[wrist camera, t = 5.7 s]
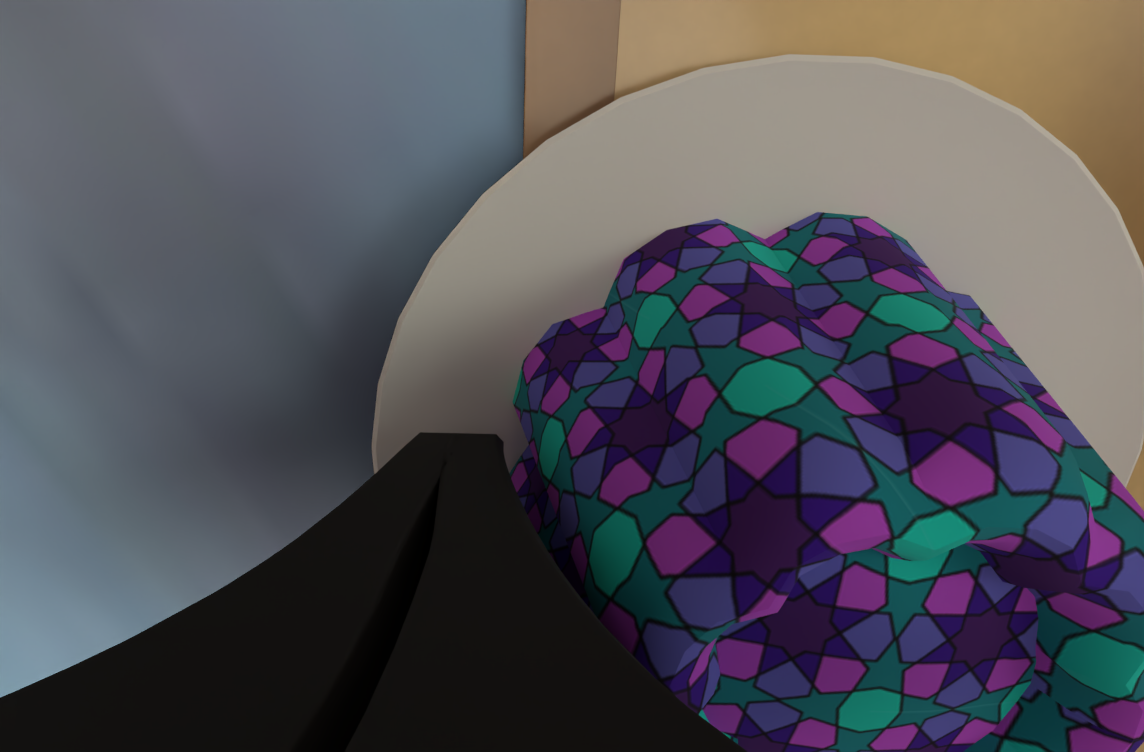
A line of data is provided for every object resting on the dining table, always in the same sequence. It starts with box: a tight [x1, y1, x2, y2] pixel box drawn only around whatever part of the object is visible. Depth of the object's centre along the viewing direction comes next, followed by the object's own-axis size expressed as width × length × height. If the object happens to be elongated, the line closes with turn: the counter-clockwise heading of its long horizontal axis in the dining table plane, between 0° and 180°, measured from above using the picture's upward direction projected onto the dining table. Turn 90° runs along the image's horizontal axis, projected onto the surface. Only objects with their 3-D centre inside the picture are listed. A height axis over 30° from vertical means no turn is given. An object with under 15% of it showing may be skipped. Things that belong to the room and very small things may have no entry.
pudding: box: [371, 54, 1144, 752], centre depth 9 cm, size 12×12×5 cm
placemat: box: [523, 0, 1144, 752], centre depth 12 cm, size 15×22×1 cm
